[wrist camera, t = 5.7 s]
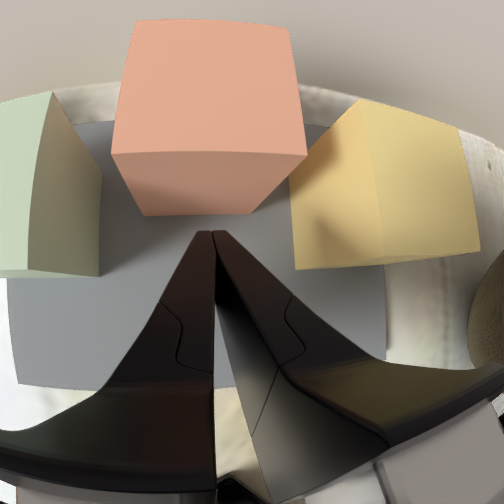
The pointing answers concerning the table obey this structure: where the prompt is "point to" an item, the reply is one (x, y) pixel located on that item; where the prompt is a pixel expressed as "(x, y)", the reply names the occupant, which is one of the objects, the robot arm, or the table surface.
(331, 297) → the grey mat
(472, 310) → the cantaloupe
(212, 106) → the terracotta block
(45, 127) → the sage block
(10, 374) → the table surface
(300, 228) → the mustard block
